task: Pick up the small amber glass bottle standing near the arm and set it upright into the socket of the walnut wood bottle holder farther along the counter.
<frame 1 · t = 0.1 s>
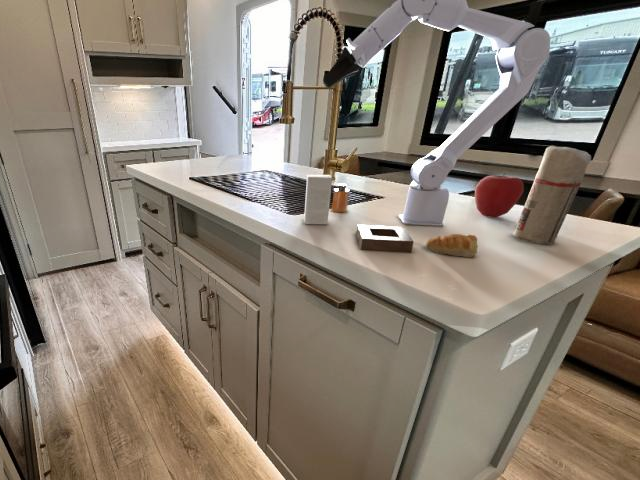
hand: (325, 84, 86), 32 cm above the worktop, tool tilted 50°, fingers open, 7 cm apart
pastry: (452, 252, 77), on the worktop
cosmetic box: (314, 223, 96), on the worktop
apple: (489, 216, 102), on the worktop
holder: (381, 243, 81), on the worktop
bottle: (338, 210, 107), on the worktop
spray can: (532, 240, 84), on the worktop
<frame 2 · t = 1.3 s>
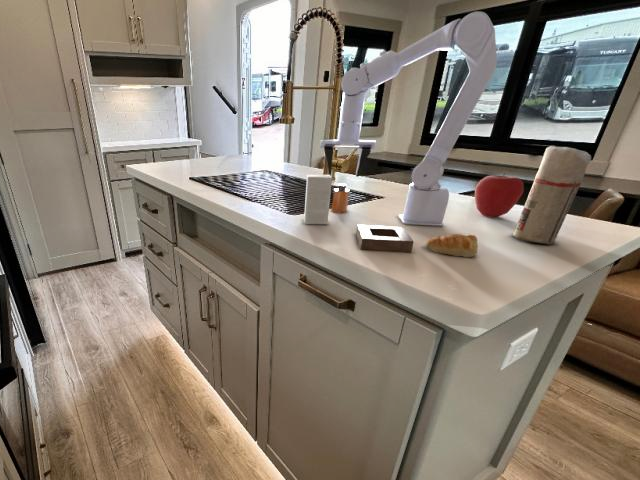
hand: (343, 175, 102), 10 cm above the worktop, tool pointing down, fingers open, 7 cm apart
nothing on the worktop moved.
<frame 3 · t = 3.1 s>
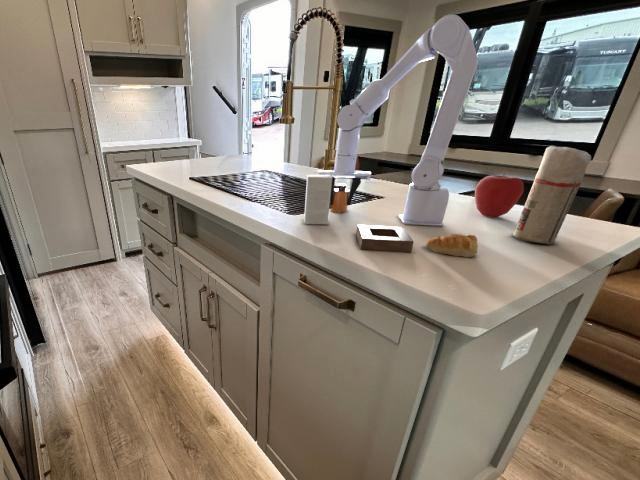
hand: (339, 204, 106), 2 cm above the worktop, tool pointing down, fingers closed on bottle, 4 cm apart
bottle: (338, 210, 107), on the worktop, touching gripper
everything else where it was.
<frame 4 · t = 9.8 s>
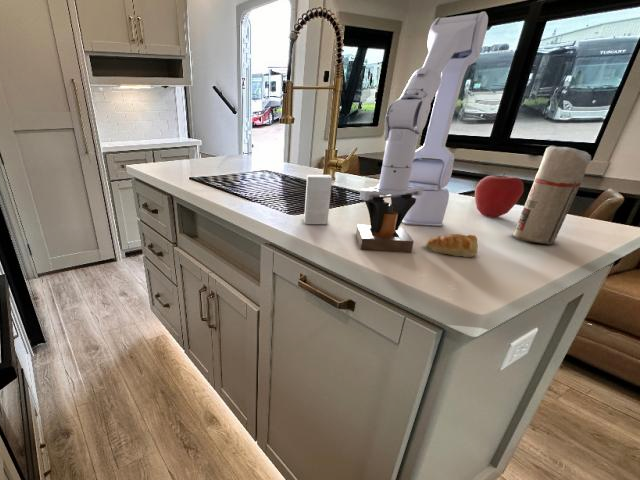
hand: (384, 230, 80), 3 cm above the worktop, tool pointing down, fingers closed on bottle, 4 cm apart
bottle: (382, 238, 81), point 1 cm above the worktop, touching gripper
everything else where it was.
when the fingers open (3 cm above the worktop, at t = 13.7 s): bottle drops 1 cm, resting in holder.
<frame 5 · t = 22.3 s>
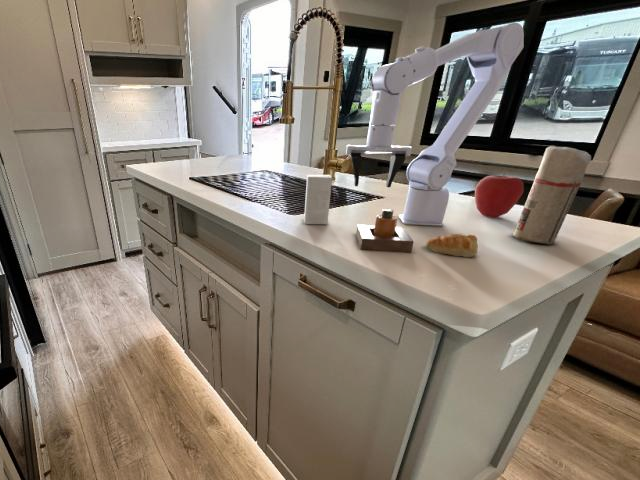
hand: (371, 186, 89), 10 cm above the worktop, tool pointing down, fingers open, 7 cm apart
bottle: (381, 243, 81), resting in holder
everything else where it was.
at the end: bottle 0.0 cm off-centre in the holder, point 0.0 cm above the holder's base; bottle tilted 0°; the gripper is holding nothing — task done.
